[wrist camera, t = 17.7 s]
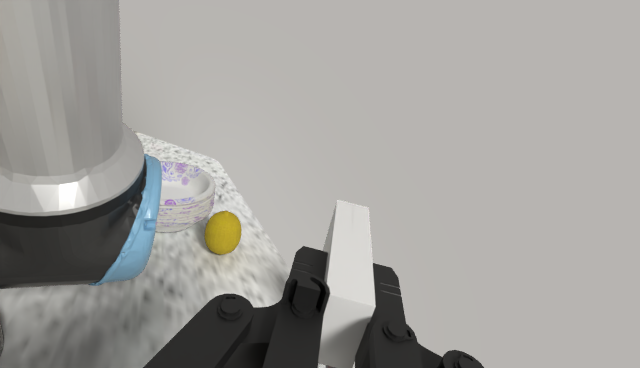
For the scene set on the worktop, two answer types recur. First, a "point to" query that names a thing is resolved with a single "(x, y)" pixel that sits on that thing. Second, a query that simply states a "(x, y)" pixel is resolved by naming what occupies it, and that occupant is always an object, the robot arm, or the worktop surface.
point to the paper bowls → (183, 196)
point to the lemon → (223, 232)
